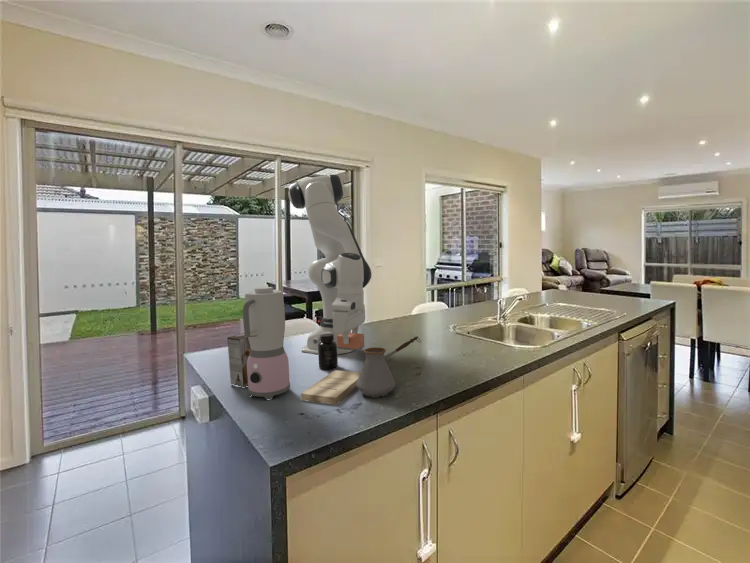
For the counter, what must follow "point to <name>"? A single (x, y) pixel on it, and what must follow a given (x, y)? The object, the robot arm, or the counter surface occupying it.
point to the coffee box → (238, 359)
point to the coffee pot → (377, 372)
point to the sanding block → (351, 342)
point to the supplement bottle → (327, 352)
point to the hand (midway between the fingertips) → (350, 341)
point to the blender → (266, 342)
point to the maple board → (332, 387)
